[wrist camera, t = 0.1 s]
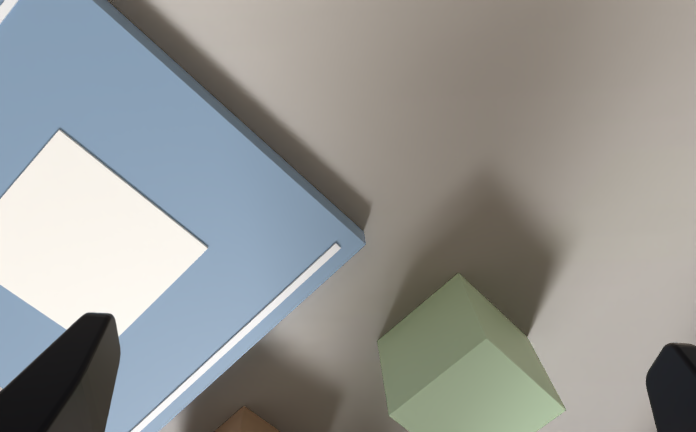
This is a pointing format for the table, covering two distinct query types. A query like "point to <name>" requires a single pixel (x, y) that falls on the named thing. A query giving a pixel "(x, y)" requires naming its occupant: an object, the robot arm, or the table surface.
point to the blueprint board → (142, 210)
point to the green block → (464, 368)
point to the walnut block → (246, 423)
